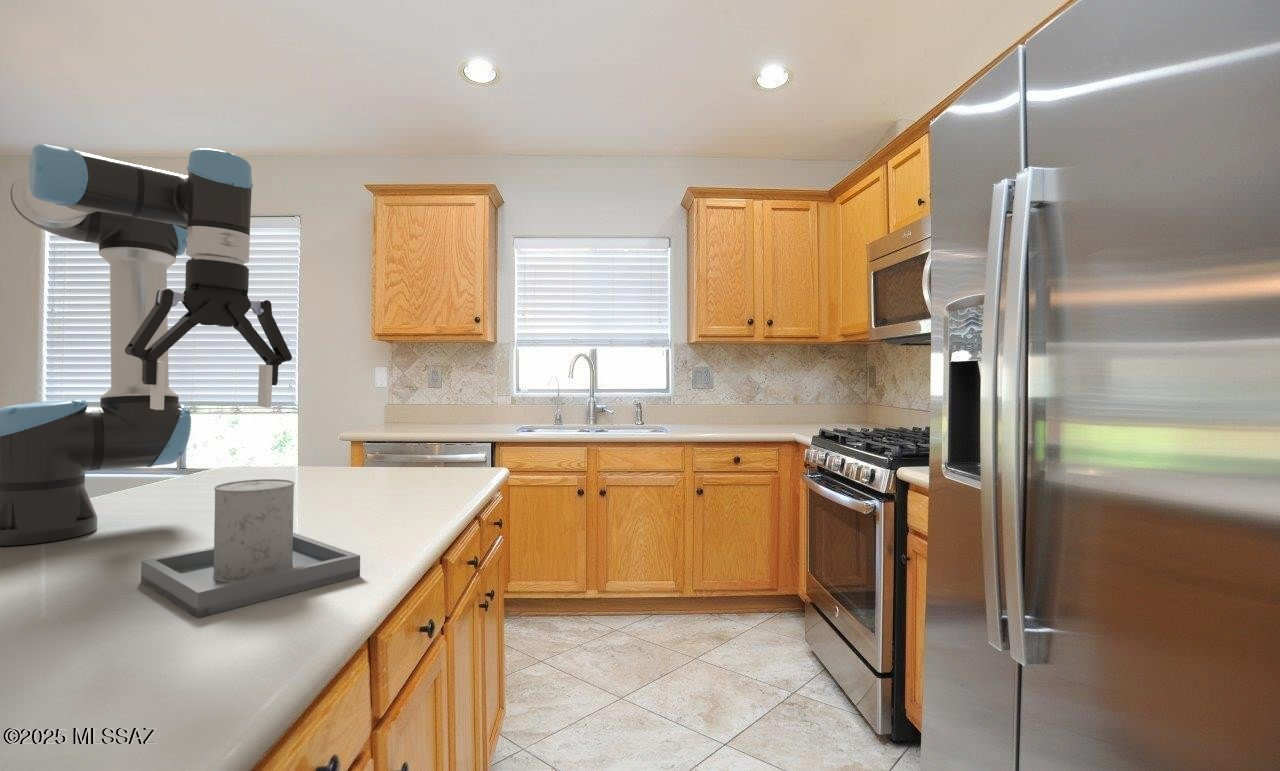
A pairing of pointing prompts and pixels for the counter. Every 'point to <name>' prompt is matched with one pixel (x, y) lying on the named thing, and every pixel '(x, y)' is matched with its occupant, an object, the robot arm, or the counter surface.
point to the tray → (202, 595)
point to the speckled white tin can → (253, 528)
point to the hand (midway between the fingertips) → (214, 408)
